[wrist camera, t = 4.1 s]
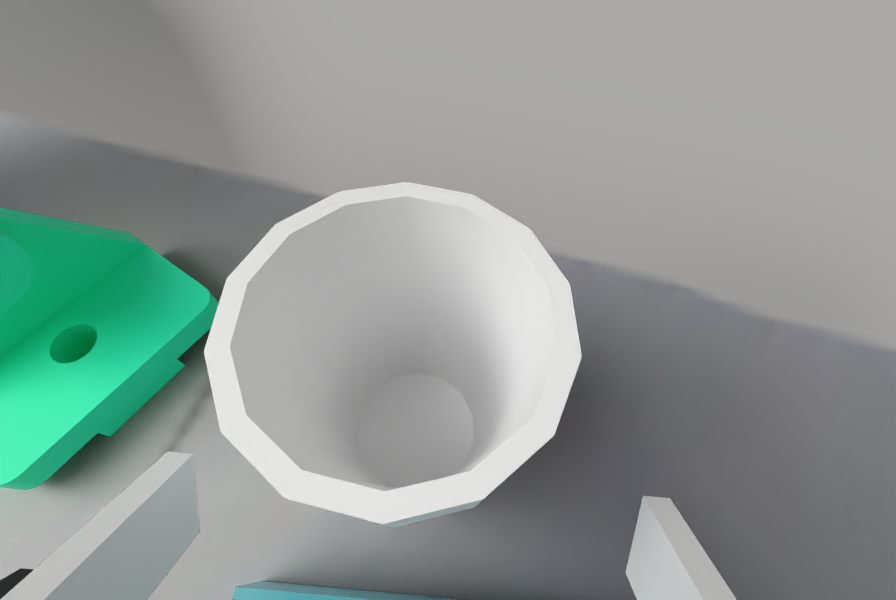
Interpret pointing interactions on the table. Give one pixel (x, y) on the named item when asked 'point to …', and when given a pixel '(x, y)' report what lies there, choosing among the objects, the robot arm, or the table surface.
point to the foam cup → (393, 352)
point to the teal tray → (316, 593)
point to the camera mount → (83, 336)
